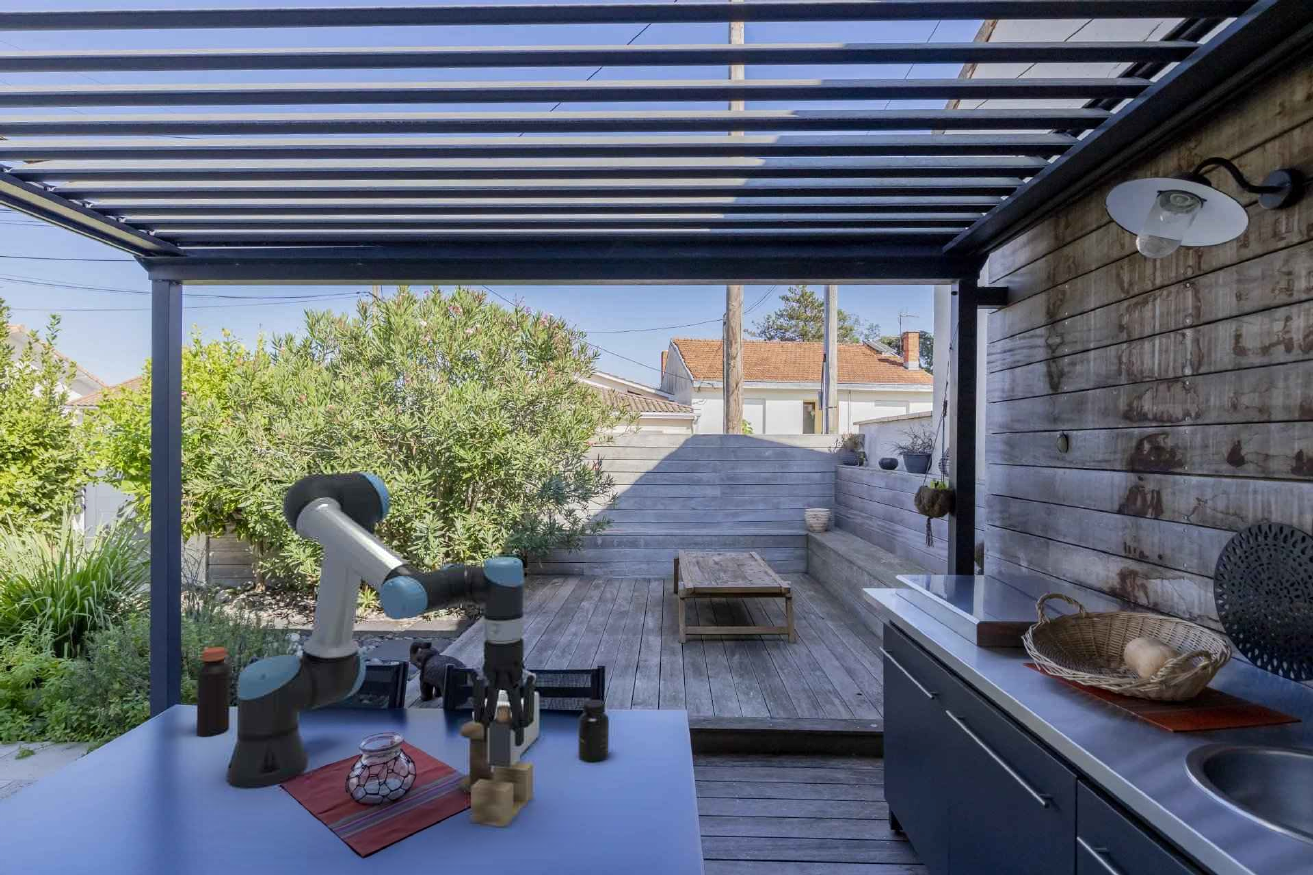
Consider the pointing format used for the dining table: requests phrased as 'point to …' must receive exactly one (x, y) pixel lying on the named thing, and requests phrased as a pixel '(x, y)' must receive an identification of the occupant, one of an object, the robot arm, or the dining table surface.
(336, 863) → the dining table surface
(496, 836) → the dining table surface
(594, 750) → the supplement bottle
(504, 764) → the gray block with knob
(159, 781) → the dining table surface
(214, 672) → the vinegar
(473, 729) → the bobbin
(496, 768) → the wooden u-shaped block
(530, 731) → the cable organizer
